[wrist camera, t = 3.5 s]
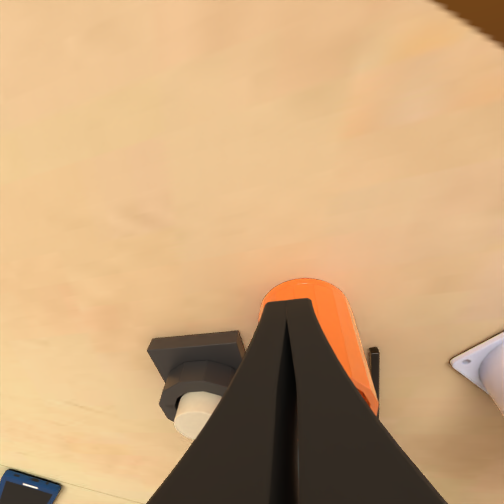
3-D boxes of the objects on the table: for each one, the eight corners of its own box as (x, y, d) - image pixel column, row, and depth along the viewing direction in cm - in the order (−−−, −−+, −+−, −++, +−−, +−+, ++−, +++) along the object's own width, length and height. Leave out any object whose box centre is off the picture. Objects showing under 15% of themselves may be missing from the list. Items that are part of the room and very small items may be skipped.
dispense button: (172, 390, 23) (165, 413, 21) (223, 387, 22) (219, 410, 21) (189, 420, 25) (183, 442, 23) (236, 418, 24) (233, 441, 23)
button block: (152, 338, 24) (136, 371, 21) (238, 330, 23) (233, 364, 20) (191, 411, 29) (182, 444, 26) (263, 407, 28) (261, 442, 25)
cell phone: (62, 485, 40) (59, 492, 40) (44, 514, 47) (41, 520, 47) (6, 468, 39) (1, 474, 38) (-4, 500, 46) (-8, 507, 45)
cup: (301, 261, 19) (312, 352, 13) (369, 311, 21) (405, 411, 15) (242, 315, 22) (228, 410, 16) (305, 355, 23) (314, 454, 18)
